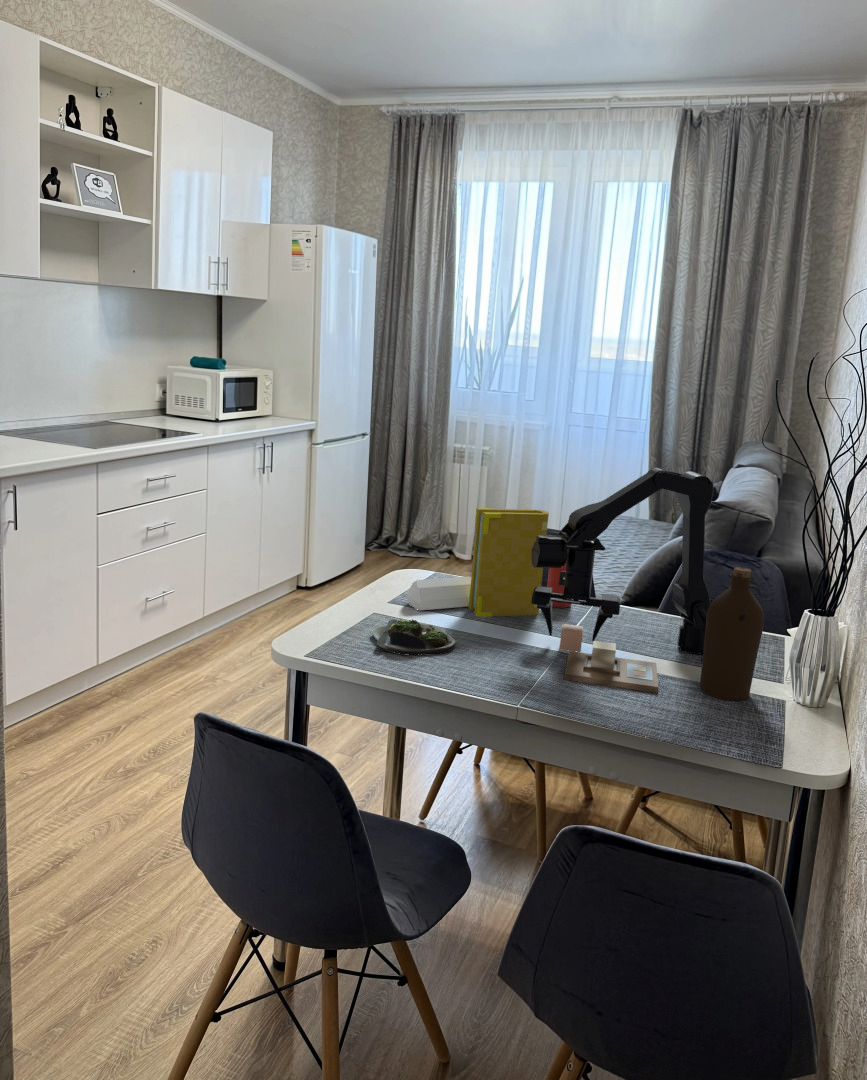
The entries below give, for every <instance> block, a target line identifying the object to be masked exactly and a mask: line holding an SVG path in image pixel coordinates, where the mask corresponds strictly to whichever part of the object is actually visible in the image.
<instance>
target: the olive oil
mask: <svg viewBox="0 0 867 1080" xmlns="http://www.w3.org/2000/svg"><path fill="white" fill-rule="evenodd" d="M751 575H752V570H751V569H750V568H746V567H742V566H741V567H740V566H739V567H738V566H736V567H734V568H733V574H732V575H731V576H732V577H731V582H730V583H731V584H730V586H729V587H728V588H727V589H726V590H724V591H723V592H722V593H720V594H719V595H718V596H716V597H715V598H714V599H712V601H711V602H710V603H711V604H710V606H709V608H708V611H707V617H706V628H705V640H704V651H703V654H702V657H701V658H700V665H701V672H700V682H699V689H700V690H701V691H702V692H703V693H704V694H706V695H708V696H710V697H714V698H717V699H720V700H724V701H743V700H746V699H748V698H749V697H750V694H751V693H750V692H751V689H752V688H751V687H752V683H753V677H754V673H755V667H756V664H757V663H756V662H757V658H758V654H759V649H760V645H761V638H762V635H763V630H764V626H765V613H764V610H763V607H762V605H761V604H760V603H759V601H758V599H756V597H755V595H754V594H753V593H752V591H751V589H750V585H751V579H752V577H751Z"/></svg>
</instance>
